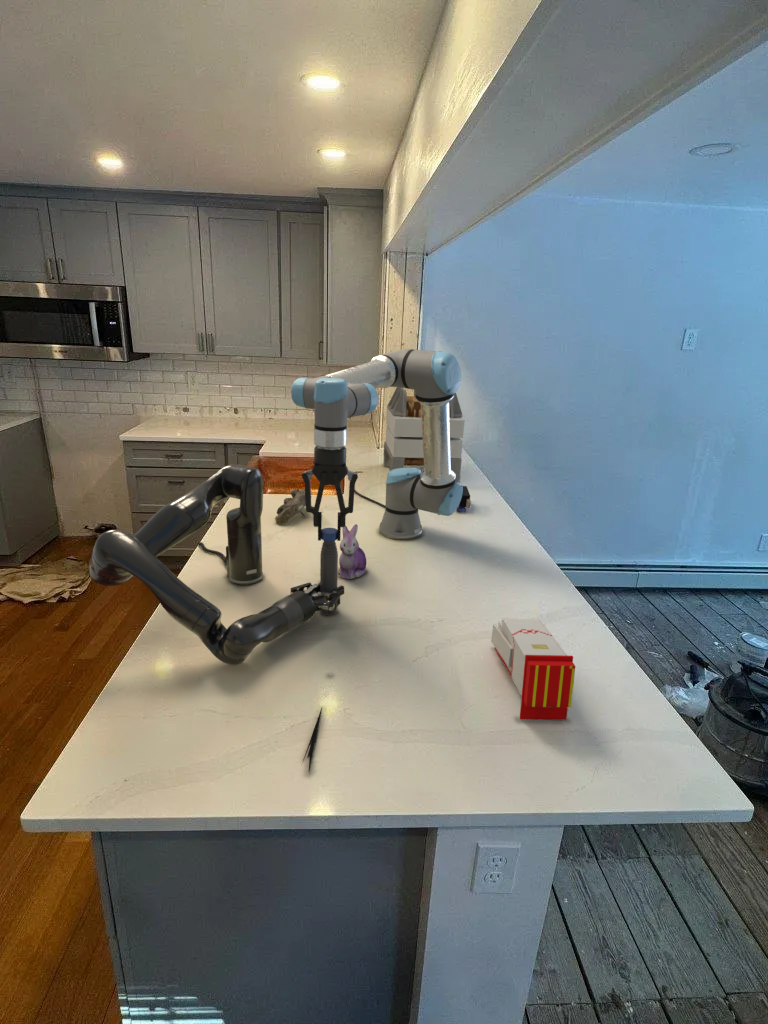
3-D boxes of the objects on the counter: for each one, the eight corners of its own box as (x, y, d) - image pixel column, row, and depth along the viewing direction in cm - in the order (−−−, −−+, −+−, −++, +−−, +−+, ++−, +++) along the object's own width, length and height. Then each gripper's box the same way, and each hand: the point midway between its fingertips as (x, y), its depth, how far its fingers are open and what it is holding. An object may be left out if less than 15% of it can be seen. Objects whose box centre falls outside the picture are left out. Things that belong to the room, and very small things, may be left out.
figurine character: (470, 516, 223) (465, 500, 237) (473, 499, 220) (467, 484, 233) (453, 516, 223) (449, 500, 236) (455, 498, 220) (451, 483, 233)
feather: (331, 679, 122) (336, 673, 122) (307, 777, 96) (313, 769, 95) (324, 675, 122) (329, 669, 121) (298, 772, 95) (304, 764, 95)
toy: (537, 603, 136) (584, 662, 106) (532, 655, 138) (577, 726, 109) (487, 602, 135) (520, 661, 106) (483, 654, 138) (514, 725, 109)
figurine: (344, 582, 162) (345, 534, 157) (330, 568, 171) (331, 521, 166) (373, 577, 167) (375, 529, 162) (359, 563, 175) (360, 517, 170)
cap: (339, 540, 139) (339, 532, 139) (323, 542, 138) (323, 534, 137) (334, 534, 143) (335, 526, 142) (319, 536, 142) (319, 528, 141)
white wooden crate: (382, 463, 289) (386, 382, 275) (445, 464, 293) (451, 384, 279) (390, 482, 257) (394, 392, 243) (460, 483, 261) (468, 394, 247)
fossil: (280, 494, 222) (309, 474, 217) (296, 512, 224) (325, 493, 219) (264, 519, 202) (296, 497, 197) (282, 539, 205) (313, 518, 200)
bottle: (339, 613, 147) (340, 535, 139) (323, 616, 145) (324, 537, 137) (333, 605, 150) (334, 529, 143) (317, 608, 148) (318, 531, 141)
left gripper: (269, 616, 139) (314, 590, 153) (313, 636, 132) (357, 607, 145) (268, 589, 137) (314, 565, 150) (313, 607, 129) (358, 580, 143)
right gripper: (366, 443, 137) (363, 533, 145) (294, 441, 136) (295, 532, 143) (367, 451, 130) (364, 545, 138) (292, 449, 129) (293, 544, 136)
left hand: (335, 586), depth 148 cm, fingers closed on bottle, 4 cm apart
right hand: (329, 538), depth 141 cm, fingers closed on cap, 4 cm apart
